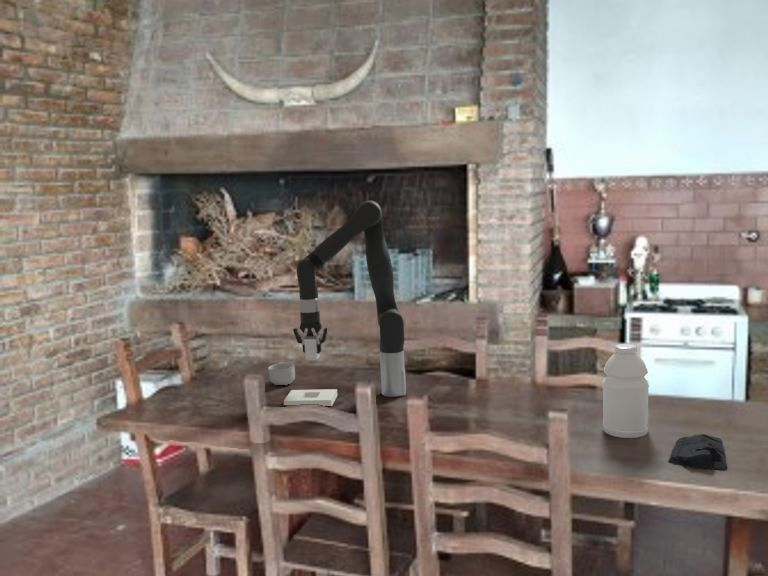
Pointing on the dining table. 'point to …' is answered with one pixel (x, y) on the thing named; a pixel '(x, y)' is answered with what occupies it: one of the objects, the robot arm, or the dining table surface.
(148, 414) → the dining table surface
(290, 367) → the teacup
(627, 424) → the bottle
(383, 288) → the robot arm
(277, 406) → the dining table surface
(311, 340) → the plug
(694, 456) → the dark slate chunk
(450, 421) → the dining table surface
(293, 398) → the socket plate
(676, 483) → the dining table surface
